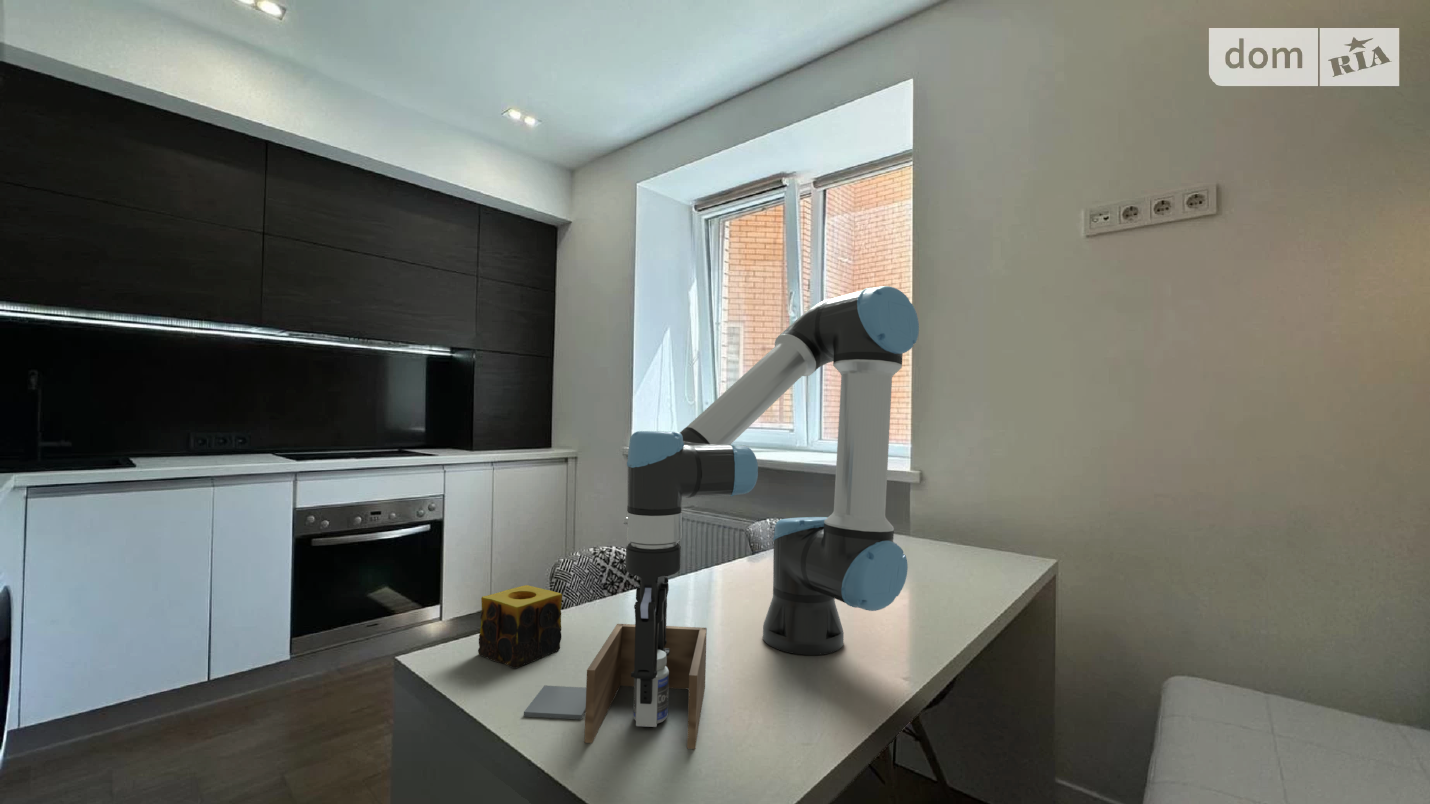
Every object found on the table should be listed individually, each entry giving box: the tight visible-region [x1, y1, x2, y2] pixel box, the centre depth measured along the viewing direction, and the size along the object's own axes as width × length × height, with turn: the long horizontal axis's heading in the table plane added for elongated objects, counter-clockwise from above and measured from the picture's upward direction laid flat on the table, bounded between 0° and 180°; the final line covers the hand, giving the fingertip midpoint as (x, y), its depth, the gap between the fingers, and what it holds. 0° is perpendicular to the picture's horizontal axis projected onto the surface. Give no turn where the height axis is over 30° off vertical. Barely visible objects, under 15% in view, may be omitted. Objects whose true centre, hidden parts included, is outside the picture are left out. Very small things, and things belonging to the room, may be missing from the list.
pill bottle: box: [632, 650, 669, 725], centre depth 79 cm, size 5×5×8 cm
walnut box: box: [583, 623, 708, 750], centre depth 80 cm, size 14×17×9 cm
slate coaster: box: [523, 684, 586, 720], centre depth 82 cm, size 8×8×1 cm
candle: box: [477, 584, 563, 669], centre depth 100 cm, size 10×10×10 cm
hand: (650, 714), depth 78 cm, fingers closed on pill bottle, 5 cm apart
